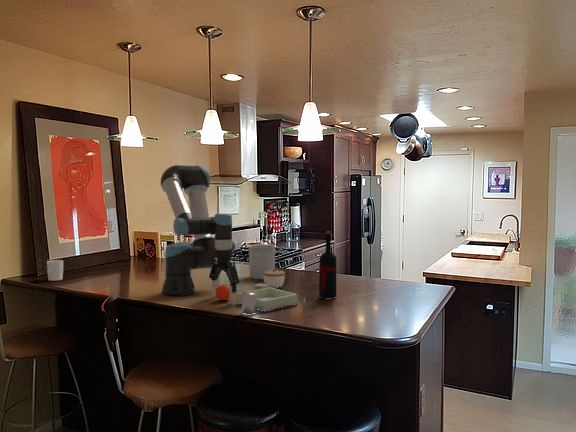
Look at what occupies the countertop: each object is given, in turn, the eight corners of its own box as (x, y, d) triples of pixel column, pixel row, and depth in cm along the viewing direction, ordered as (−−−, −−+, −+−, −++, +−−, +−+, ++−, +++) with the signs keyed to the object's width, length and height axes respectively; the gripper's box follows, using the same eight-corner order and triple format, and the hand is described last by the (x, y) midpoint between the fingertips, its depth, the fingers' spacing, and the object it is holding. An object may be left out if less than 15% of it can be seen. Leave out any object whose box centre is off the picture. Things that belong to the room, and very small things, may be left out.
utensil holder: (244, 278, 246) (244, 246, 245) (253, 274, 260) (253, 243, 259) (270, 280, 242) (271, 247, 241) (278, 275, 257) (278, 244, 256)
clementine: (216, 298, 203) (216, 282, 202) (232, 297, 203) (232, 282, 203) (214, 302, 195) (214, 286, 194) (231, 302, 195) (231, 286, 195)
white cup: (66, 278, 245) (66, 260, 245) (58, 281, 238) (57, 262, 237) (53, 278, 246) (52, 259, 246) (43, 280, 238) (43, 262, 238)
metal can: (238, 313, 179) (238, 293, 178) (250, 310, 183) (250, 290, 182) (247, 316, 174) (247, 295, 174) (260, 313, 178) (260, 293, 178)
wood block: (253, 296, 207) (253, 285, 207) (260, 294, 211) (260, 283, 211) (262, 297, 204) (262, 286, 204) (269, 295, 209) (269, 284, 208)
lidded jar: (265, 290, 218) (265, 271, 217) (261, 286, 228) (261, 267, 228) (287, 289, 221) (287, 270, 220) (281, 284, 231) (281, 266, 231)
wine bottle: (314, 299, 201) (314, 232, 199) (323, 294, 210) (323, 230, 208) (330, 301, 197) (331, 233, 195) (339, 296, 206) (339, 231, 204)
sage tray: (237, 303, 193) (237, 293, 193) (270, 297, 205) (270, 287, 204) (263, 312, 179) (263, 301, 179) (297, 304, 191) (297, 294, 191)
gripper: (247, 250, 191) (248, 300, 192) (215, 245, 209) (215, 291, 210) (232, 252, 186) (233, 303, 187) (201, 247, 204) (201, 293, 205)
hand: (224, 297), depth 198 cm, fingers open, 13 cm apart
